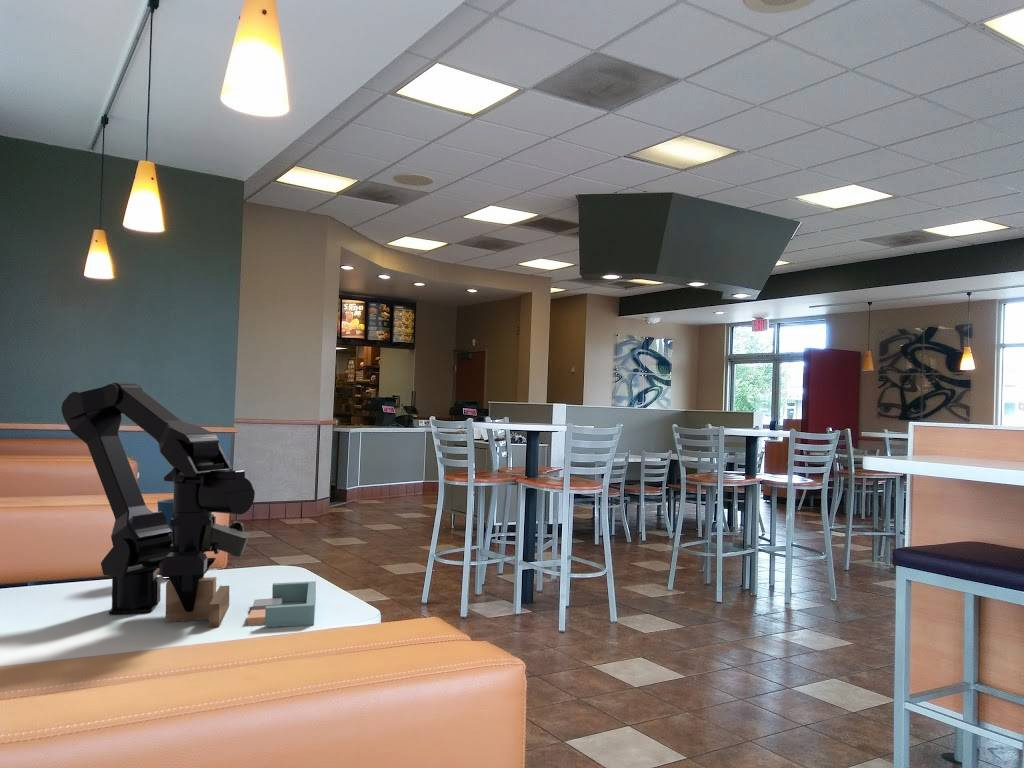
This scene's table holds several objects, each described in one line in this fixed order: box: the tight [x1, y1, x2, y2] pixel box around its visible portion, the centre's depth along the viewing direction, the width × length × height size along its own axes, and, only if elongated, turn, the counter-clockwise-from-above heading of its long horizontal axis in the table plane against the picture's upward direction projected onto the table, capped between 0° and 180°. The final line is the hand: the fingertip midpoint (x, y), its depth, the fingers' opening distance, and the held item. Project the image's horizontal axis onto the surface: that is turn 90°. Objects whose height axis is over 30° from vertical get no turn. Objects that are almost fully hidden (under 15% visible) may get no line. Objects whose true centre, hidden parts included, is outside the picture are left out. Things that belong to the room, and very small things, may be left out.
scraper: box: [165, 576, 230, 628], centre depth 123 cm, size 8×12×6 cm
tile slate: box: [252, 598, 283, 610], centre depth 128 cm, size 4×4×2 cm
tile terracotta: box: [247, 609, 265, 626], centre depth 122 cm, size 4×4×2 cm
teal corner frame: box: [264, 580, 317, 629], centre depth 126 cm, size 7×16×3 cm, turn 13°
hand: (191, 608), depth 123 cm, fingers closed on scraper, 3 cm apart
